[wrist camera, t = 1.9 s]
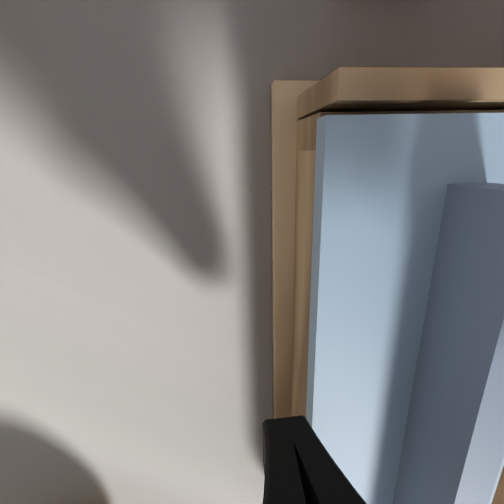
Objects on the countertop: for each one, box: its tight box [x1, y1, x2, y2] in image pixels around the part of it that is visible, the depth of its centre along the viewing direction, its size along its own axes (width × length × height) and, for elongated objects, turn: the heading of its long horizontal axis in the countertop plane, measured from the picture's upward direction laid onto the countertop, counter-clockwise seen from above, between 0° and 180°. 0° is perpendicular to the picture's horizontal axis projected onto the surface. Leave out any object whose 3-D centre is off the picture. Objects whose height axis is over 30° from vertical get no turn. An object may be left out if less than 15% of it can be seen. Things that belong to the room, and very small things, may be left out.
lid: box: [306, 113, 504, 504], centre depth 10 cm, size 8×20×3 cm, turn 1°
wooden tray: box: [271, 67, 504, 504], centre depth 13 cm, size 19×23×4 cm
